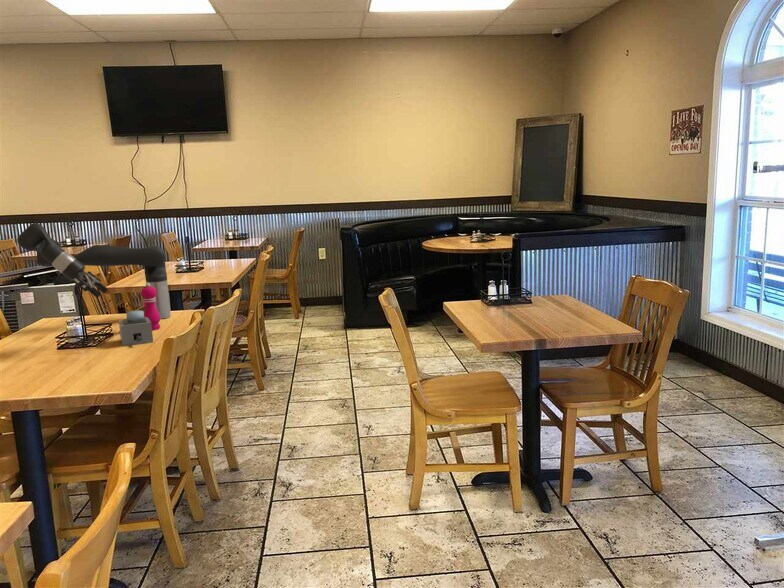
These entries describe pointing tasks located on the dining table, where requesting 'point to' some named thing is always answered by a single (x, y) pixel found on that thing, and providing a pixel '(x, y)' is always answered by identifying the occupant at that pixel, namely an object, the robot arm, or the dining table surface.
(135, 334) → the plunger
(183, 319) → the dining table surface
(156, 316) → the pepper mill
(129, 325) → the grey block
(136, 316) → the peg
